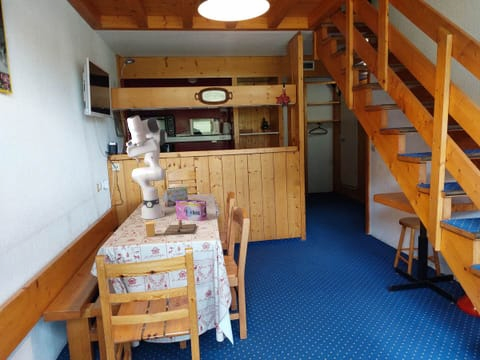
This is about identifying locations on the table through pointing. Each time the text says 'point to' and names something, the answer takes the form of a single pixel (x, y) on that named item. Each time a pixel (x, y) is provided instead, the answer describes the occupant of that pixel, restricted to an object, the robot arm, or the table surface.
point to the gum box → (191, 210)
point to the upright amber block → (150, 229)
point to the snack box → (175, 196)
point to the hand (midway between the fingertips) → (146, 160)
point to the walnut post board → (180, 229)
